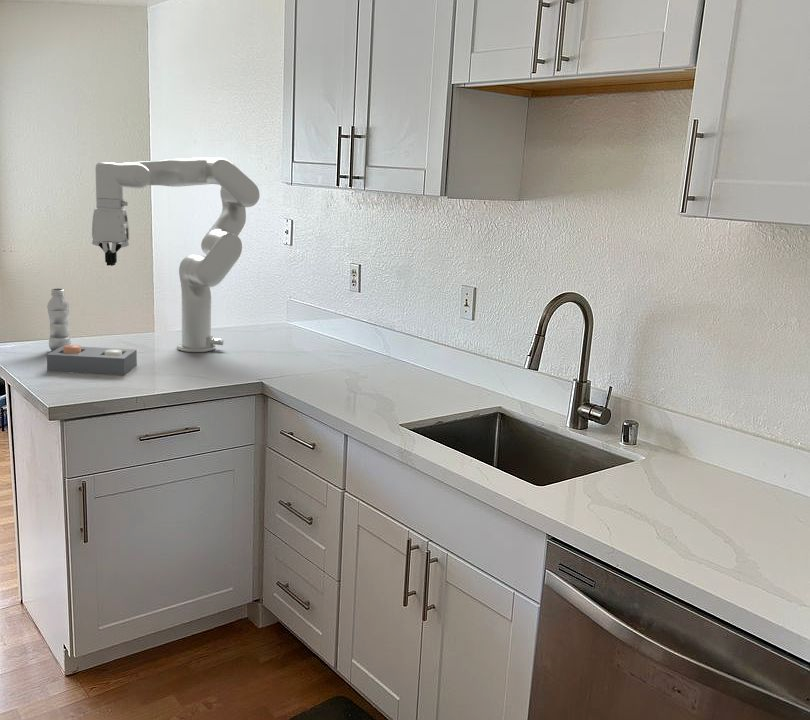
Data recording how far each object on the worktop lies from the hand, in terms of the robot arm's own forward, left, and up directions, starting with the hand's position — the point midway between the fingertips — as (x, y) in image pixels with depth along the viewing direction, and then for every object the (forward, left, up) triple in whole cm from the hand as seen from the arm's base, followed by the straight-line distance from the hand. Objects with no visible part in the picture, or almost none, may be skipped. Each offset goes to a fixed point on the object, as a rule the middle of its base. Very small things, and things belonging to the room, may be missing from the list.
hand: (111, 265), depth 243 cm
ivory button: (-5, +15, -29) cm, 33 cm away
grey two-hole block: (+1, +15, -29) cm, 33 cm away
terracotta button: (+7, +15, -28) cm, 32 cm away
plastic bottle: (+18, -4, -29) cm, 35 cm away
